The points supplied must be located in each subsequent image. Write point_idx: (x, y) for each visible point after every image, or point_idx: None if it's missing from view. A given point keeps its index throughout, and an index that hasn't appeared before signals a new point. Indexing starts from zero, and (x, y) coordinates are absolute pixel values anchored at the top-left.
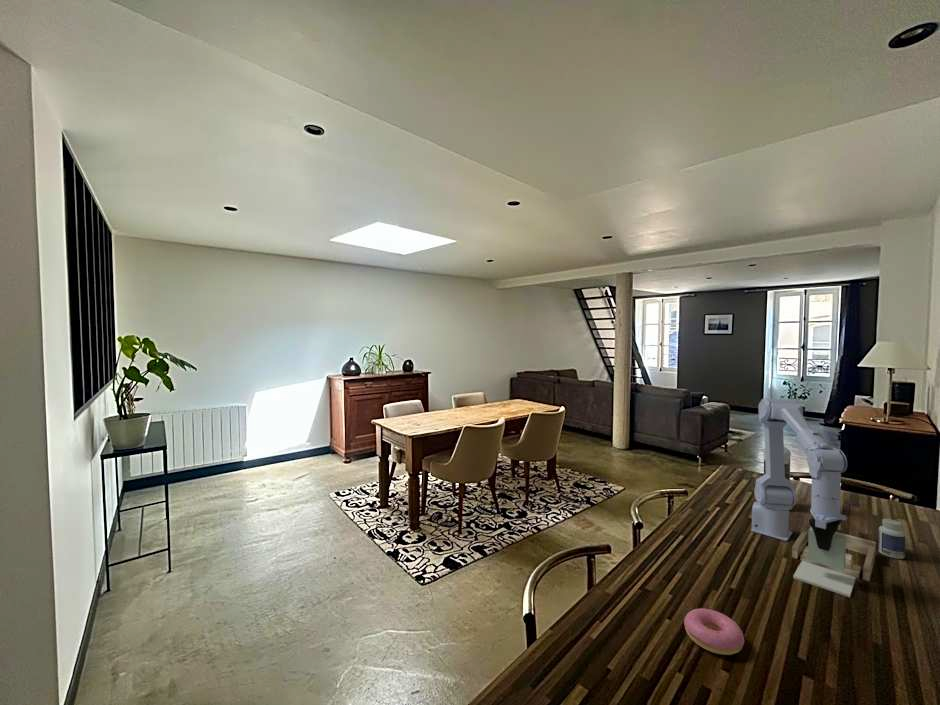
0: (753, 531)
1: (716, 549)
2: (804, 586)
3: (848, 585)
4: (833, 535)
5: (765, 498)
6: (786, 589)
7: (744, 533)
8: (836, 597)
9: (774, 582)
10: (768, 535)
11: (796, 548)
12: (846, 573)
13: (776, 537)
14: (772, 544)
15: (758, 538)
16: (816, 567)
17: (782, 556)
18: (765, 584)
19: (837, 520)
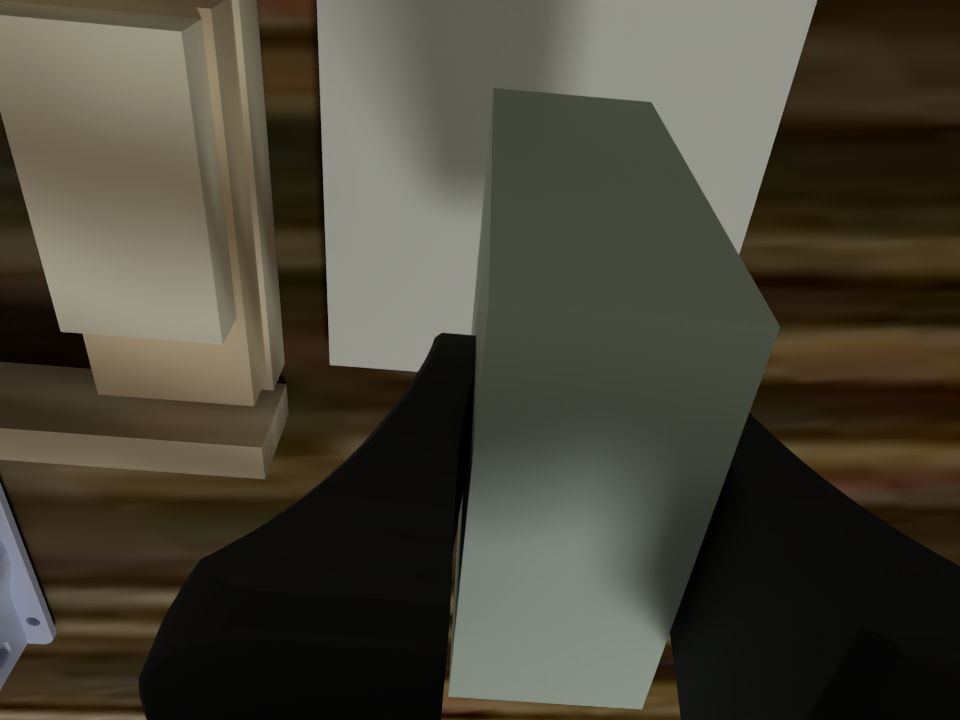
0: (53, 626)
1: (553, 713)
2: (795, 311)
3: (590, 10)
4: (658, 475)
5: None
6: (921, 400)
7: (139, 651)
8: (872, 97)
9: (846, 463)
10: (26, 561)
11: (263, 452)
12: (255, 29)
13: (11, 525)
14: (158, 523)
15: (139, 591)
16: (379, 267)
17: (330, 460)
18: (910, 497)
19: (401, 692)
